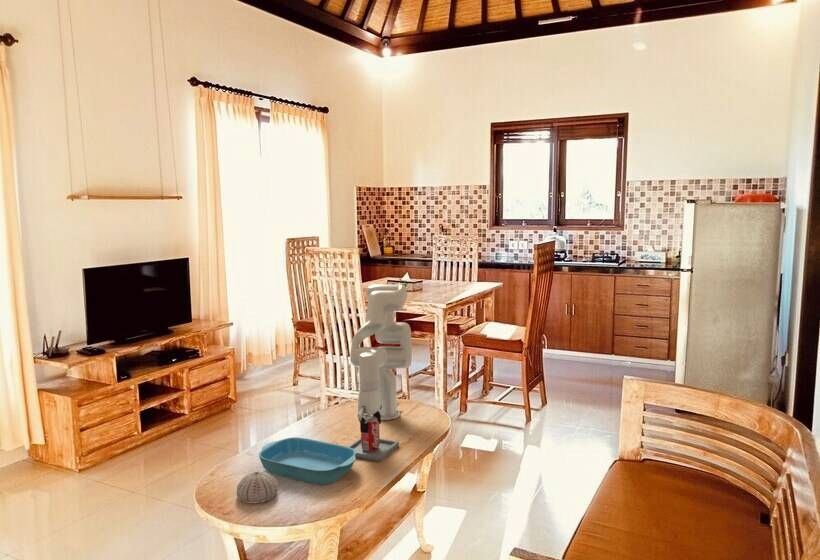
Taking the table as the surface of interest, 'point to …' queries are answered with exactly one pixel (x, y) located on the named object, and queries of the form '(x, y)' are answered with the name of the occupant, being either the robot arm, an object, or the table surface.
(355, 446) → the tray
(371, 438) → the soda can
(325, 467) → the casserole dish
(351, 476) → the table surface
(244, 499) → the sea urchin shell
